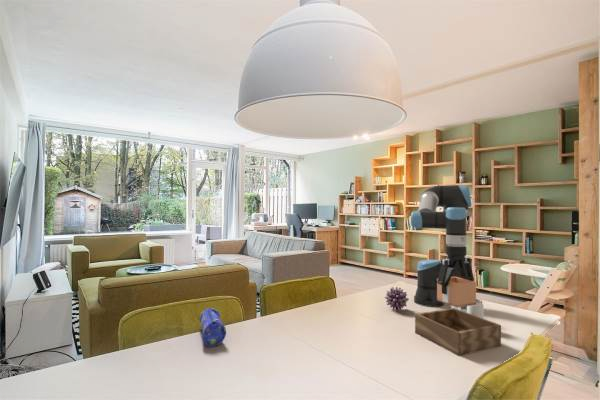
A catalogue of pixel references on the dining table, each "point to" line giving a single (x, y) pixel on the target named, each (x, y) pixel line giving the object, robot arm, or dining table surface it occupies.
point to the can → (476, 309)
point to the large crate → (458, 331)
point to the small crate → (459, 292)
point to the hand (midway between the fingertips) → (456, 300)
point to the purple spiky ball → (396, 298)
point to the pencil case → (212, 327)
